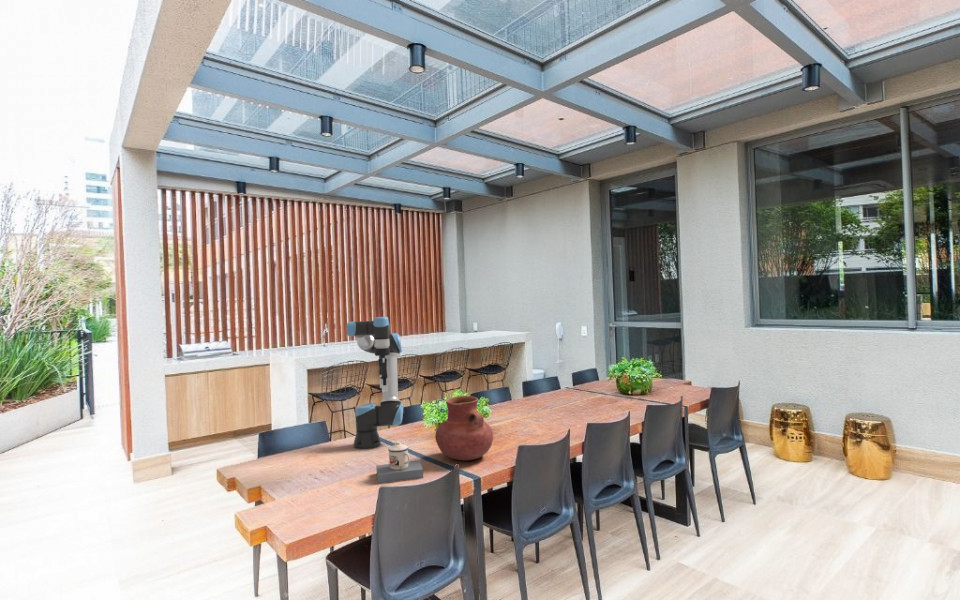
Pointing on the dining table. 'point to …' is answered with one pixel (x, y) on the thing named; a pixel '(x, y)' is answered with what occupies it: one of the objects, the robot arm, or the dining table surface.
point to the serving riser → (399, 472)
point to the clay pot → (464, 430)
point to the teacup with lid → (398, 456)
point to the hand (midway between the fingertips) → (383, 389)
